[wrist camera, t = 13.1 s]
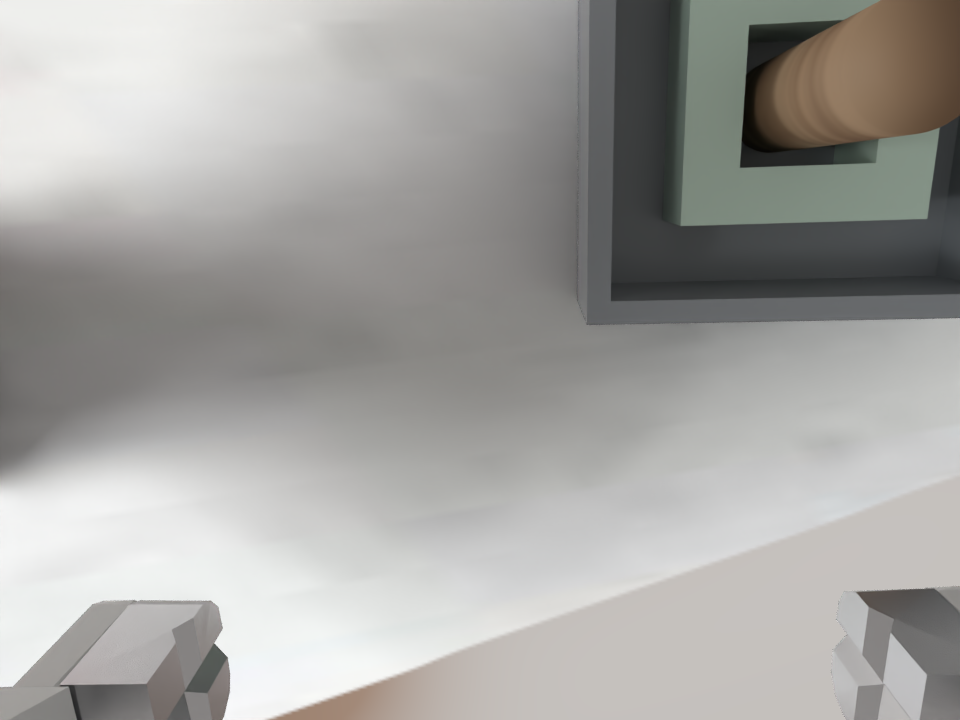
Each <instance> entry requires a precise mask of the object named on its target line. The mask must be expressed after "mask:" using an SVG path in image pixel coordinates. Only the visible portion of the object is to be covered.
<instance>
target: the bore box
mask: <svg viewBox="0 0 960 720" xmlns="http://www.w3.org/2000/svg"><path fill="white" fill-rule="evenodd" d="M878 1H880V0H579V7H578V257H577V301H578V303H579V306H580V308H581V311H582V313H583V316H584V319H585V321H586V324H587V325H605V324H660V323H714V322H769V321H824V320H879V319H934V318H960V115H959V116H958V117H957V118H955V119H954V120H952V121H951V122H949V123H948V124H946V125H944V126H942V127H940V128H937V129H934V130H932V131H929V132H924V133H920V134H913V135H905V136H898V137H890V138H882V139H875V140H867V141H860V142H852V143H844V144H837V145H829V146H821V147H814V148H806V149H799V150H791V151H783V152H775V153H765V152H760V151H757V150H754V149H752V148H750V147H748V146H747V145H745V144H744V143H743V142H742V127H743V112H744V96H745V81H746V74H748V73H749V72H750V71H751V70H752V69H754V68H755V67H757V66H759V65H761V64H763V63H764V62H766V61H768V60H770V59H772V58H774V57H776V56H778V55H779V54H781V53H783V52H785V51H787V50H789V49H791V48H793V47H794V46H796V45H798V44H800V43H802V42H804V41H806V40H807V39H809V38H811V37H813V36H815V35H817V34H819V33H821V32H822V31H824V30H826V29H828V28H830V27H832V26H834V25H835V24H837V23H839V22H841V21H843V20H845V19H847V18H849V17H850V16H852V15H854V14H856V13H858V12H860V11H862V10H864V9H865V8H867V7H869V6H871V5H873V4H875V3H877V2H878Z"/></svg>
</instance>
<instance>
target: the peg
mask: <svg viewBox="0 0 960 720" xmlns="http://www.w3.org/2000/svg"><path fill="white" fill-rule="evenodd" d="M959 115H960V0H880V1H878V2H877V3H875V4H873V5H871V6H869V7H867V8H865V9H864V10H862V11H860V12H858V13H856V14H854V15H852V16H850V17H849V18H847V19H845V20H843V21H841V22H839V23H837V24H835V25H834V26H832V27H830V28H828V29H826V30H824V31H822V32H821V33H819V34H817V35H815V36H813V37H811V38H809V39H807V40H806V41H804V42H802V43H800V44H798V45H796V46H794V47H793V48H791V49H789V50H787V51H785V52H783V53H781V54H779V55H778V56H776V57H774V58H772V59H770V60H768V61H766V62H764V63H763V64H761V65H759V66H757V67H755V68H754V69H752V70H751V71H750V72H749V73H748V74H746V81H745V96H744V112H743V127H742V142H743V143H744V144H745V145H747V146H748V147H750V148H752V149H754V150H757V151H760V152H765V153H775V152H783V151H791V150H799V149H806V148H814V147H821V146H829V145H837V144H844V143H852V142H860V141H867V140H875V139H882V138H890V137H898V136H905V135H913V134H920V133H924V132H929V131H932V130H934V129H937V128H940V127H942V126H944V125H946V124H948V123H949V122H951V121H952V120H954V119H955V118H957V117H958V116H959Z"/></svg>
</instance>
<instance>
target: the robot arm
mask: <svg viewBox="0 0 960 720" xmlns="http://www.w3.org/2000/svg"><path fill="white" fill-rule="evenodd" d="M836 620H837V621H838V622H839V624H840V625H841V627H842V628H843V629H844V631H845V632H846V633H847V635H846V636H845V637H844V638H843V639H842V640H841V641H840V642H839V643H838V645H836V647H835V648H834V649H833V655H832V669H831V674H832V680H833V685H834V691H835V696H836V699H837V701H838V703H839V706H840V708H841V711H842V713H843V715H844V717H845V718H846V720H960V586H951V587H931V588H925V589H902V590H901V589H899V590H867V591H844V592H843V594H842V596H841V598H840V601H839V603H838V610H837V618H836ZM222 629H223V627H222V623H221V618H220V613H219V608H218V606H217V605H215V604H214V603H213V602H212V601H165V600H140V601H135V600H123V601H102V602H99V603H95V604H92V605H91V607H90V608H89V609H88V610H87V611H86V612H85V613H84V614H83V615H82V616H81V617H80V618H79V619H78V620H77V621H76V622H75V623H74V624H73V625H72V626H71V627H70V628H69V629H68V630H67V631H66V632H65V633H64V634H63V635H62V636H61V638H60V639H59V640H58V641H57V642H56V643H55V644H54V645H53V646H52V647H51V648H50V649H49V650H48V651H47V652H46V653H45V654H44V655H43V656H42V657H41V658H40V659H39V660H38V661H37V662H36V663H35V664H34V665H33V666H32V667H31V668H30V670H29V671H28V672H27V673H26V674H25V675H24V676H23V677H22V678H21V679H20V680H19V681H18V682H17V683H16V684H15V685H14V686H13V687H0V720H222V719H223V717H224V714H225V710H226V706H227V701H228V697H229V693H230V670H229V663H228V657H227V656H226V655H225V654H224V653H223V652H222V651H221V650H220V649H219V648H218V647H217V646H216V645H215V644H214V642H215V641H216V639H217V637H218V636H219V634H220V632H221V631H222Z"/></svg>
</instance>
